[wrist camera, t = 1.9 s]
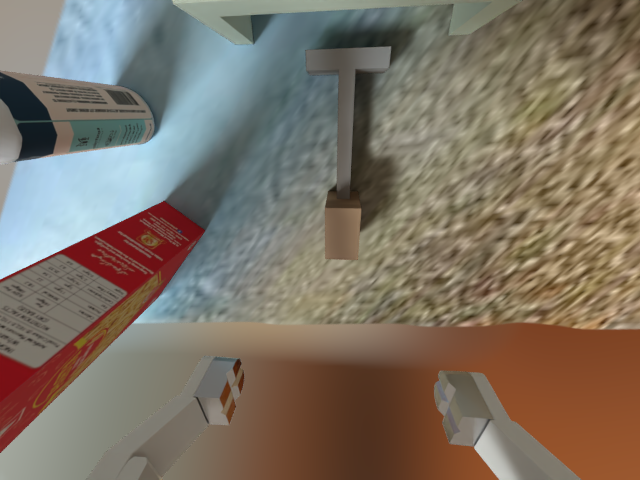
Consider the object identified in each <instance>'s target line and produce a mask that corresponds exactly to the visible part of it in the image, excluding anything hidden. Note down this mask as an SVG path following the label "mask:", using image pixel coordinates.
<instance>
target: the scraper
mask: <svg viewBox="0 0 640 480" xmlns="http://www.w3.org/2000/svg"><path fill="white" fill-rule="evenodd" d="M390 54H391V46H389V47H365V48H341V49H317V50H306V71H307V72H308V73H309V74H310V75H338V74H339V88H338V145H337V191H328V195H327V200H326V206H325V259H344V260H358V250H359V236H360V221H361V204H360V199H359V194H358V191H350V180H351V157H352V134H353V112H354V89H355V74H369V73H384V72H385V71H386V70H387V69H388V68H389V64H390Z"/></svg>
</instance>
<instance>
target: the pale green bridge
mask: <svg viewBox="0 0 640 480" xmlns="http://www.w3.org/2000/svg"><path fill="white" fill-rule="evenodd" d="M172 1H173V4H174V5H176V6H177V7H179V8H180V9H182V10H183V11H185V12H186V13H188V14H189V15H191V16H192V17H194V18H195V19H197V20H199V21H200V22H202V23H203V24H205V25H206V26H208V27H209V28H211V29H212V30H214V31H215V32H217V33H218V34H220V35H221V36H223V37H225V38H226V39H228V40H229V41H231V42H232V43H234V44H235V45H244V44H254V41H253V32H252V24H251V15H260V14H278V13H296V12H314V11H333V10H351V9H369V8H387V7H405V6H423V5H441V4H454V7H453V12H452V18H451V23H450V29H449V34H448V35H469V34H471V33H472V32H474V31H475V30H477V29H479V28H480V27H482V26H483V25H485V24H486V23H488V22H490V21H491V20H493V19H494V18H496V17H497V16H499V15H500V14H502V13H504V12H505V11H507V10H508V9H510V8H511V7H513V6H515V5H516V4H518V3H519V2H521V1H522V0H172Z"/></svg>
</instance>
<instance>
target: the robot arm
mask: <svg viewBox="0 0 640 480" xmlns="http://www.w3.org/2000/svg"><path fill="white" fill-rule="evenodd" d="M241 364H242V363H241V360H240V358H226V357H214V356H204V357H203V358H202V359H201V360H200V361H199V363H198V365H197V366H196V368H195V370H194V371H193V373H192V375H191V377H190V378H189V380H188V382H187V383H186V385H185V387H184V389H183V391H182V392H181V394H180V396H175V397H174V398H172V399H171V400H170V401H169V402H168V403H166V404H165V405H164V406H162V407H161V408H160V409H159V410H157V411H156V412H155V413H154V414H152V415H151V416H150V417H149V418H147V419H146V420H145V421H144V422H142V423H141V424H140V425H139V426H138V427H136V428H135V429H134V430H132V431H131V432H130V433H129V434H127V435H126V436H125V437H124V438H122V439H121V440H120V441H119V442H118V443H116V444H115V445H114V446H112V447H111V448H110V449H109V450H107V451H106V452H105V453H104V455H103V456H102V458H101V459H100V460H99V462H98V463H97V465H96V466H95V468H94V469H93V470H92V472H91V473H90V475H89V476H88V478H87V479H86V480H163V479H162V477H163V476H164V475H165V473H166V472H167V471H168V470H169V469H170V468H171V467H172V466H173V464H174V463H175V462H176V461H177V460H178V459H179V458H180V457H181V455H182V454H183V453H184V452H185V451H186V450H187V449H188V448H189V447H190V446H191V444H192V443H193V442H194V441H195V440H196V439H197V438H198V437H199V435H200V434H201V433H202V432H203V431H204V430H205V429H206V428H207V427H208V424H219V425H230V422H231V419H232V417H233V414H234V411H235V408H236V404H235V399H237V398H238V396H240V394H241V391H242V388H243V384H244V370H242V369H241V368H240V367H241ZM438 377H439V380H440V381H438V382H436V383H435V387H434V396H435V401H436V405H437V408H438V410H439V411H440V412H441V413H442V414H443V415H444V420H443V422H442V423H443V426H444V429H445V432H446V435H447V438H448V440H449V443H450V444H456V445H465V446H474V449H475V450H476V451H477V452H478V454H479V455H480V456H481V457H482V458H483V460H484V461H485V462H486V463H487V465H488V466H489V467H490V468H491V470H492V471H493V472H494V473H495V474H496V476H497V477H498V478H499V480H581V479H580V478H579V477H578V476H576V475H575V474H574V473H573V472H572V471H571V470H570V469H569V468H567V467H566V466H565V465H564V464H563V463H562V462H561V461H559V460H558V459H557V458H556V457H555V456H554V455H552V453H550V452H549V451H548V450H547V449H546V448H545V447H543V446H542V445H541V444H540V443H539V442H538V441H537V440H536V439H534V438H533V437H532V436H531V435H530V434H529V433H528V432H526V431H525V430H524V429H523V428H522V427H521V426H520V425H519V424H517V423H516V422H513V421H511V420H510V418H509V417H508V415H507V413H506V411H505V410H504V408H503V406H502V404H501V403H500V401H499V399H498V398H497V396H496V394H495V392H494V390H493V389H492V387H491V385H490V383H489V381H488V380H487V378H486V376H485V375H484V374H482V373H474V372H473V373H472V372H460V371H440V372H439V375H438Z"/></svg>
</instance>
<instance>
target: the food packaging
mask: <svg viewBox="0 0 640 480" xmlns="http://www.w3.org/2000/svg"><path fill="white" fill-rule="evenodd" d="M204 232H205V230H204V229H202V228H201V227H200V226H198V225H197V224H196V223H194V222H193V221H191V220H190V219H189V218H187V217H186V216H184V215H183V214H182V213H180V212H179V211H177V210H176V209H175V208H173V207H172V206H171V205H169V204H168V203H166V202H165V201H163V202H161V203H159V204H157V205H155V206H153V207H151V208H149V209H146V210H144V211H142V212H140V213H138V214H136V215H134V216H132V217H130V218H128V219H126V220H124V221H121V222H119V223H117V224H115V225H113V226H111V227H109V228H107V229H105V230H103V231H101V232H99V233H96V234H94V235H92V236H90V237H88V238H86V239H84V240H82V241H80V242H78V243H76V244H73V245H71V246H69V247H67V248H65V249H63V250H61V251H59V252H57V253H55V254H53V255H51V256H48V257H46V258H44V259H42V260H40V261H38V262H36V263H34V264H32V265H30V266H28V267H26V268H23V269H21V270H19V271H17V272H15V273H13V274H11V275H9V276H7V277H5V278H3V279H1V280H0V453H1V452H2V451H3V450H4V449H5V448H6V447H7V446H8V445H9V444H10V443H11V442H12V441H13V440H14V439H15V438H16V437H17V436H18V435H19V434H20V433H21V432H22V431H23V430H24V429H25V428H26V427H27V426H28V425H29V424H30V423H31V422H32V421H33V420H34V419H35V418H36V417H37V416H38V415H39V414H40V413H41V412H42V411H43V410H44V409H45V408H46V407H47V406H48V405H50V403H52V401H53V400H55V399H56V398H57V397H58V396H59V395H60V393H62V392H63V391H64V390H65V389H66V388H67V387H68V385H70V384H71V383H72V382H73V381H74V380H75V379H76V378H77V377H78V376H79V375H80V374H81V373H82V372H83V371H84V370H85V369H86V368H87V367H88V366H89V365H90V364H91V363H92V362H93V361H94V360H95V359H96V358H97V357H98V356H99V355H100V354H101V353H102V352H103V351H104V350H105V349H106V348H107V347H108V346H109V345H110V344H111V343H112V342H113V341H114V340H115V339H116V338H118V337H119V335H120V334H122V333H123V331H125V329H127V327H128V326H130V325H131V324H132V323H133V322H134V321H135V320H136V319H137V318H138V317H139V316H140V315H141V314H142V313H143V312H144V311H145V310H146V309H147V308H148V307H149V306H150V305H151V304H152V303H153V302H154V301H155V300H156V299H157V298H158V297H159V295H160V294H161V292H162V291H163V290H164V288H165V287H166V285H167V284H168V283H169V281H170V280H171V278H172V277H173V275H174V274H175V273H176V271H177V270H178V268H179V267H180V266H181V264H182V263H183V261H184V260H185V259H186V257H187V256H188V254H189V253H190V252H191V250H192V249H193V247H194V246H195V245H196V243H197V242H198V240H199V239H200V238H201V236H202V235H203V233H204Z"/></svg>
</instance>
